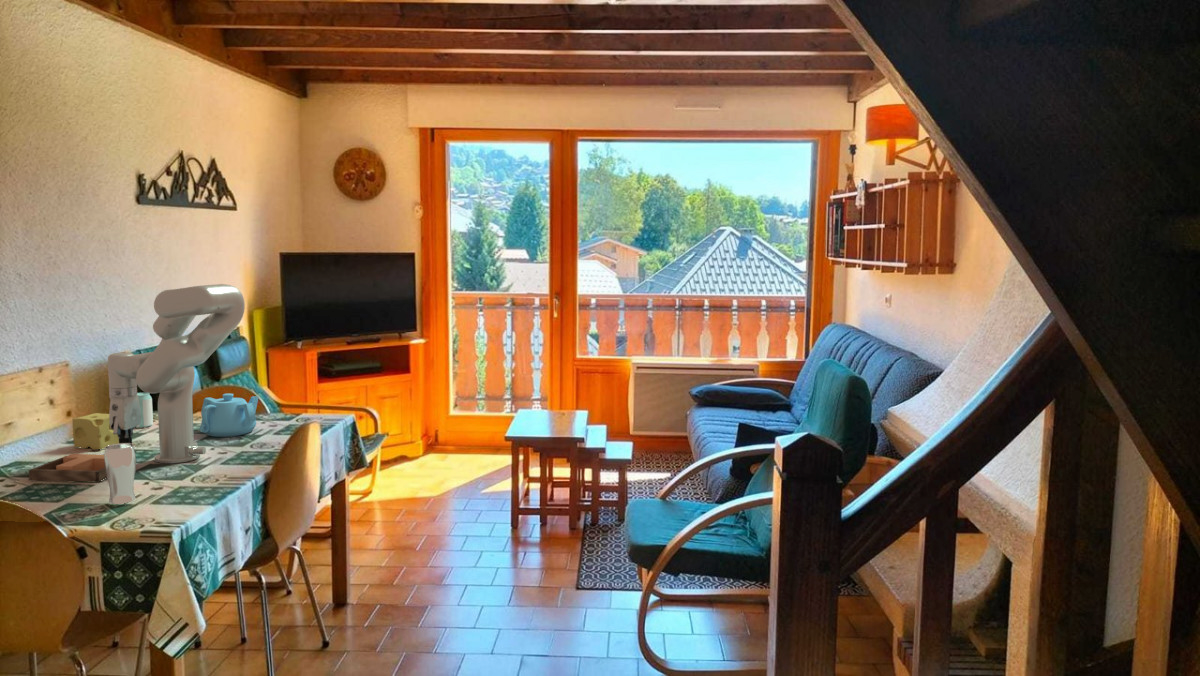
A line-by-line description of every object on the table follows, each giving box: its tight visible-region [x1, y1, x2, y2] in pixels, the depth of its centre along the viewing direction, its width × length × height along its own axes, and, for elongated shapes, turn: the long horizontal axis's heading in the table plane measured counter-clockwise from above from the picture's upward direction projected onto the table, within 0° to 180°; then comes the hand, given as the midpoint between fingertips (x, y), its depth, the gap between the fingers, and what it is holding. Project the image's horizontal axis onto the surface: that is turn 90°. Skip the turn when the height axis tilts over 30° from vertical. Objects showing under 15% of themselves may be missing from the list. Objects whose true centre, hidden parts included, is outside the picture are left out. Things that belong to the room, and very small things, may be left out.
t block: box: [56, 453, 105, 471], centre depth 238 cm, size 14×13×4 cm
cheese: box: [72, 412, 119, 450], centre depth 270 cm, size 10×11×10 cm
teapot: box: [199, 393, 259, 438], centre depth 291 cm, size 19×19×14 cm
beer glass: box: [103, 443, 137, 505], centre depth 212 cm, size 7×7×15 cm
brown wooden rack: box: [28, 455, 107, 482], centre depth 238 cm, size 20×16×3 cm
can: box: [135, 392, 154, 429], centre depth 298 cm, size 7×7×12 cm
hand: (125, 449), depth 259 cm, fingers closed
